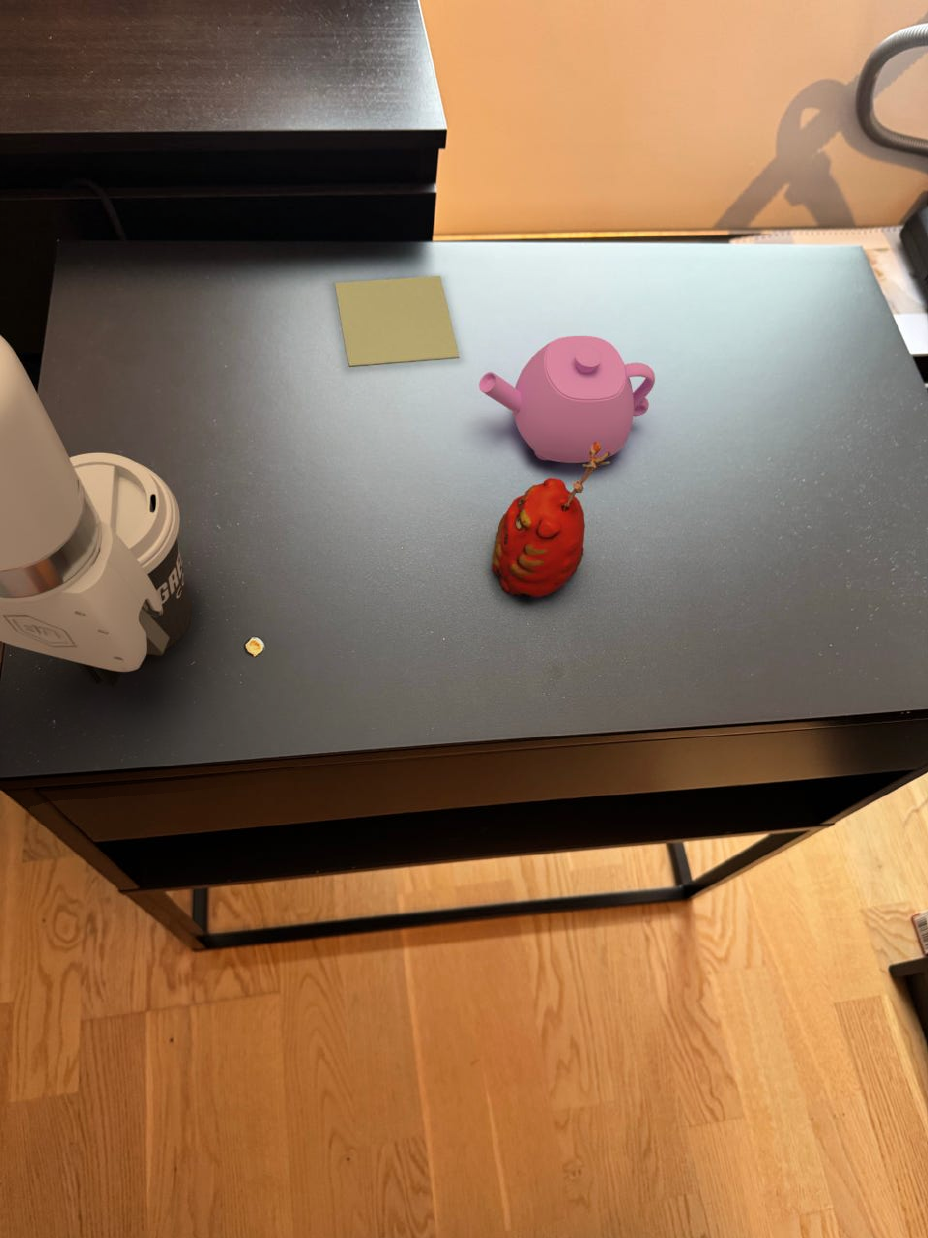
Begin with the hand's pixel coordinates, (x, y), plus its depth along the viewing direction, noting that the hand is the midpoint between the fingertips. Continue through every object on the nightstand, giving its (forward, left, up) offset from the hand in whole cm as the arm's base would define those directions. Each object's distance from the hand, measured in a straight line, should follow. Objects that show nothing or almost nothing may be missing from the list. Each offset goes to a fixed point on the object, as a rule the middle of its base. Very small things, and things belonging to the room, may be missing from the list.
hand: (111, 665), depth 63 cm
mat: (+25, +32, -3) cm, 41 cm away
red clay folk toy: (+32, +5, -3) cm, 33 cm away
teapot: (+37, +18, -3) cm, 42 cm away
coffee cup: (+2, +5, -3) cm, 6 cm away
